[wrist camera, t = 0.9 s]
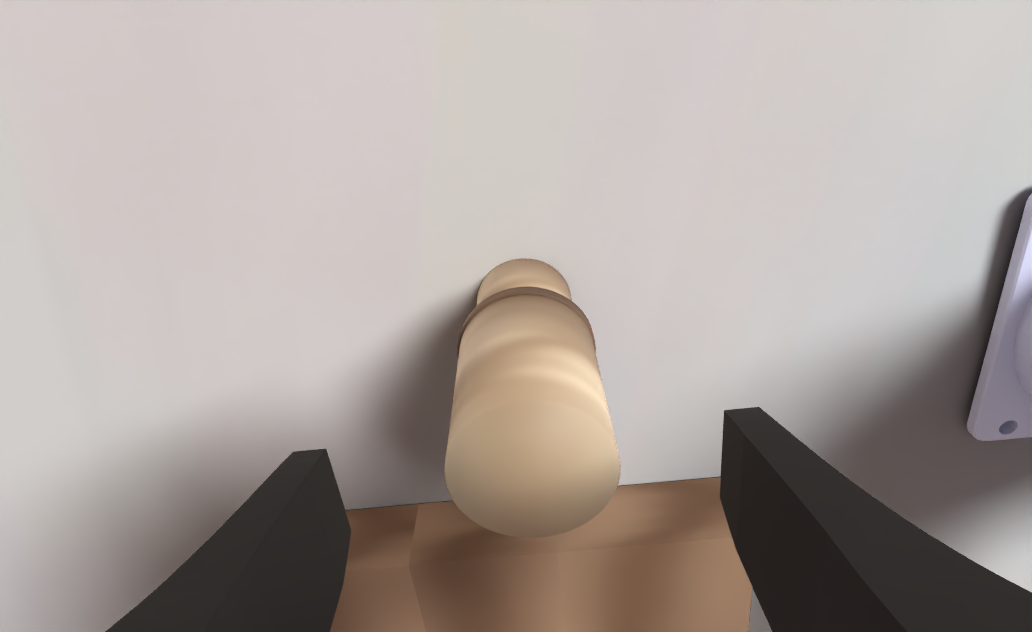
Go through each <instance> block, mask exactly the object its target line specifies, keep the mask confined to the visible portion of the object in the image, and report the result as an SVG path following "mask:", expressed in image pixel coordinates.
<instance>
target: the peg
mask: <svg viewBox="0 0 1032 632" xmlns="http://www.w3.org/2000/svg"><path fill="white" fill-rule="evenodd" d="M620 467H621V466H620V458H619V453H618V449H617V445H616V440H615V436H614V432H613V427H612V423H611V419H610V414H609V410H608V406H607V401H606V397H605V393H604V388H603V384H602V379H601V375H600V371H599V366H598V362H597V358H596V347H595V340H594V335H593V332H592V328H591V325H590V323H589V321H588V319H587V317H586V316H585V314H584V313H583V312H582V310H581V309H580V308H579V307H578V306H577V305H576V304H575V303H573V302H572V299H571V294H570V290H569V287H568V284H567V282H566V281H565V279H564V278H563V276H562V275H561V274H560V273H559V272H558V271H557V270H556V269H555V268H553V267H552V266H550V265H549V264H546V263H544V262H542V261H539V260H534V259H515V260H511V261H507V262H505V263H502V264H500V265H499V266H497V267H495V268H494V269H493V270H492V271H491V272H490V273H489V274H488V275H487V276H486V277H485V278H484V280H483V282H482V283H481V285H480V288H479V291H478V296H477V306H476V307H475V308H474V309H473V310H472V311H471V313H470V314H469V315H468V316H467V318H466V320H465V322H464V324H463V326H462V329H461V331H460V336H459V341H458V365H457V373H456V381H455V389H454V397H453V404H452V412H451V420H450V428H449V436H448V443H447V451H446V459H445V471H444V474H445V482H446V486H447V489H448V492H449V494H450V496H451V498H452V500H453V501H454V503H455V504H456V506H457V507H458V508H459V509H460V510H461V511H462V512H463V513H464V514H465V515H466V516H467V517H468V518H470V519H471V520H472V521H474V522H475V523H477V524H478V525H480V526H482V527H484V528H486V529H488V530H491V531H494V532H496V533H500V534H504V535H507V536H513V537H522V538H541V537H548V536H554V535H558V534H562V533H565V532H568V531H571V530H573V529H575V528H577V527H580V526H582V525H583V524H585V523H587V522H588V521H590V520H591V519H593V518H594V517H595V516H596V515H598V514H599V513H600V512H601V511H602V510H603V509H604V508H605V507H606V505H607V504H608V503H609V501H610V500H611V498H612V497H613V495H614V493H615V491H616V488H617V486H618V483H619V478H620Z"/></svg>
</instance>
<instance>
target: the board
mask: <svg viewBox="0 0 1032 632" xmlns="http://www.w3.org/2000/svg"><path fill="white" fill-rule="evenodd" d="M720 482H721V477H716V478H704V479H693V480H682V481H671V482H659V483H648V484H637V485H626V486H617V488H616V491H615V493H614V495H613V497H612V498H611V500H610V501H609V503H608V504H607V505H606V507H605V508H604V509H603V510H602V511H601V512H600V513H599V514H598V515H596V516H595V517H594V518H593V519H591V520H590V521H588V522H587V523H585V524H583V525H582V526H580V527H577V528H575V529H573V530H571V531H568V532H565V533H562V534H558V535H554V536H548V537H541V538H522V537H513V536H507V535H504V534H500V533H496V532H494V531H491V530H488V529H486V528H484V527H482V526H480V525H478V524H477V523H475V522H474V521H472V520H471V519H470V518H468V517H467V516H466V515H465V514H464V513H463V512H462V511H461V510H460V509H459V508H458V507H457V506H456V504H455V503H454V501H446V502H435V503H424V504H413V505H402V506H390V507H379V508H368V509H357V510H346V511H345V512H346V515H347V518H348V521H349V524H350V528H351V537H350V544H349V551H348V559H347V565H346V571H345V577H344V582H343V587H342V590H341V594H340V598H339V601H338V605H337V608H336V612H335V615H334V619H333V623H332V626H331V630H330V632H748V629H749V618H750V606H751V595H752V585H751V583H750V580H749V578H748V576H747V574H746V571H745V569H744V567H743V565H742V562H741V560H740V558H739V555H738V553H737V551H736V548H735V545H734V542H733V539H732V536H731V533H730V530H729V526H728V523H727V520H726V516H725V513H724V510H723V506H722V503H721V500H720Z"/></svg>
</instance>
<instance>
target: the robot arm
mask: <svg viewBox="0 0 1032 632" xmlns="http://www.w3.org/2000/svg"><path fill="white" fill-rule="evenodd" d="M1006 421H1007V422H1006ZM1004 422H1006V423H1004ZM1003 423H1004V424H1003ZM1002 424H1003V425H1002ZM967 429H968V431H969V432H970V433H971V434H972V435H973V436H974V437H975V438H976V439H978V440H980V441H994V440H1005V439H1016V438H1027V437H1032V193H1031V195H1030V196H1029V198H1028V200H1027V202H1026V205H1025V209H1024V213H1023V216H1022V220H1021V224H1020V227H1019V231H1018V235H1017V239H1016V242H1015V246H1014V250H1013V254H1012V257H1011V261H1010V265H1009V269H1008V272H1007V276H1006V280H1005V283H1004V287H1003V291H1002V295H1001V298H1000V302H999V306H998V310H997V313H996V317H995V321H994V324H993V328H992V332H991V336H990V339H989V343H988V347H987V351H986V354H985V358H984V362H983V365H982V369H981V373H980V377H979V380H978V384H977V388H976V392H975V395H974V399H973V403H972V406H971V410H970V414H969V418H968V421H967ZM720 500H721V503H722V506H723V510H724V513H725V516H726V520H727V523H728V526H729V530H730V533H731V536H732V539H733V542H734V545H735V548H736V551H737V553H738V555H739V558H740V560H741V562H742V565H743V567H744V569H745V571H746V574H747V576H748V578H749V580H750V583H751V585H752V587H753V589H754V592H755V594H756V596H757V598H758V600H759V603H760V605H761V607H762V609H763V611H764V614H765V616H766V618H767V620H768V622H769V625H770V627H771V629H772V631H773V632H1032V593H1031V592H1029V591H1028V590H1026V589H1024V588H1022V587H1020V586H1018V585H1016V584H1014V583H1012V582H1010V581H1008V580H1006V579H1004V578H1002V577H1001V576H999V575H997V574H995V573H993V572H992V571H990V570H988V569H986V568H984V567H983V566H981V565H979V564H977V563H975V562H974V561H972V560H970V559H968V558H967V557H965V556H963V555H962V554H960V553H958V552H957V551H955V550H953V549H952V548H950V547H948V546H947V545H945V544H943V543H942V542H940V541H938V540H937V539H935V538H933V537H932V536H930V535H928V534H927V533H925V532H924V531H922V530H921V529H919V528H918V527H916V526H914V525H913V524H911V523H910V522H908V521H907V520H905V519H904V518H902V517H901V516H899V515H898V514H897V513H895V512H894V511H892V510H891V509H889V508H888V507H886V506H885V505H884V504H882V503H881V502H879V501H878V500H876V499H875V498H873V497H872V496H871V495H869V494H868V493H866V492H865V491H864V490H862V489H861V488H860V487H858V486H857V485H856V484H854V483H853V482H852V481H850V480H849V479H848V478H846V477H845V476H844V475H842V474H841V473H840V472H838V471H837V470H836V469H834V468H833V467H832V466H831V465H829V464H828V463H827V462H825V461H824V460H823V459H822V458H820V457H819V456H818V455H817V454H815V453H814V452H813V451H812V450H810V449H809V448H808V447H807V446H806V445H804V444H803V443H802V442H801V441H799V440H798V439H797V438H796V437H795V436H793V435H792V434H791V433H790V432H789V431H787V430H786V429H785V428H784V427H783V426H781V425H780V424H779V423H778V422H777V421H775V420H774V419H773V418H772V417H771V416H769V415H768V414H767V413H766V412H764V411H763V410H762V409H761V408H759V407H754V408H744V409H733V410H724V424H723V443H722V462H721V482H720ZM350 537H351V528H350V524H349V521H348V518H347V515H346V512H345V508H344V505H343V502H342V499H341V495H340V492H339V489H338V486H337V483H336V479H335V476H334V473H333V470H332V466H331V463H330V460H329V457H328V453H327V450H326V449H318V450H307V451H297V452H293V453H292V454H291V455H290V456H289V457H288V458H287V459H286V460H285V461H284V462H283V463H282V464H281V465H280V466H279V467H278V468H277V469H276V470H275V471H274V472H273V473H272V474H271V475H270V476H269V477H268V478H267V480H266V481H265V482H264V483H263V484H262V485H261V486H260V487H259V488H258V489H257V490H256V491H255V492H254V493H253V494H252V496H251V497H250V498H249V499H248V500H247V501H246V502H245V503H244V504H243V505H242V506H241V507H240V508H239V509H238V510H237V511H236V512H235V513H234V514H233V515H232V516H231V517H230V518H229V520H228V521H227V522H226V523H225V524H224V525H223V526H222V527H221V528H220V529H219V530H218V531H217V532H216V533H215V534H214V535H213V536H212V537H211V538H210V539H209V540H208V541H207V542H206V543H205V544H204V545H203V546H202V547H200V548H199V549H198V550H197V551H196V552H195V553H194V554H193V555H192V556H191V557H190V558H189V559H188V560H187V561H186V562H185V563H184V564H183V565H182V566H181V567H180V568H179V569H177V570H176V571H175V572H174V573H173V574H172V575H171V576H170V577H169V578H168V579H167V580H166V581H165V582H164V583H163V584H161V585H160V586H159V587H158V588H157V589H156V590H155V591H154V592H153V593H151V594H150V595H149V596H148V597H147V598H146V599H144V600H143V601H142V602H141V603H140V604H139V605H138V606H136V607H135V608H134V609H133V610H131V611H130V612H129V613H128V614H127V615H125V616H124V617H123V618H122V619H121V620H119V621H118V622H117V623H116V624H114V625H113V626H112V627H111V628H110V629H108V630H107V631H106V632H330V630H331V626H332V623H333V619H334V615H335V612H336V608H337V605H338V601H339V598H340V594H341V590H342V587H343V582H344V577H345V571H346V565H347V559H348V551H349V544H350Z"/></svg>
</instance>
